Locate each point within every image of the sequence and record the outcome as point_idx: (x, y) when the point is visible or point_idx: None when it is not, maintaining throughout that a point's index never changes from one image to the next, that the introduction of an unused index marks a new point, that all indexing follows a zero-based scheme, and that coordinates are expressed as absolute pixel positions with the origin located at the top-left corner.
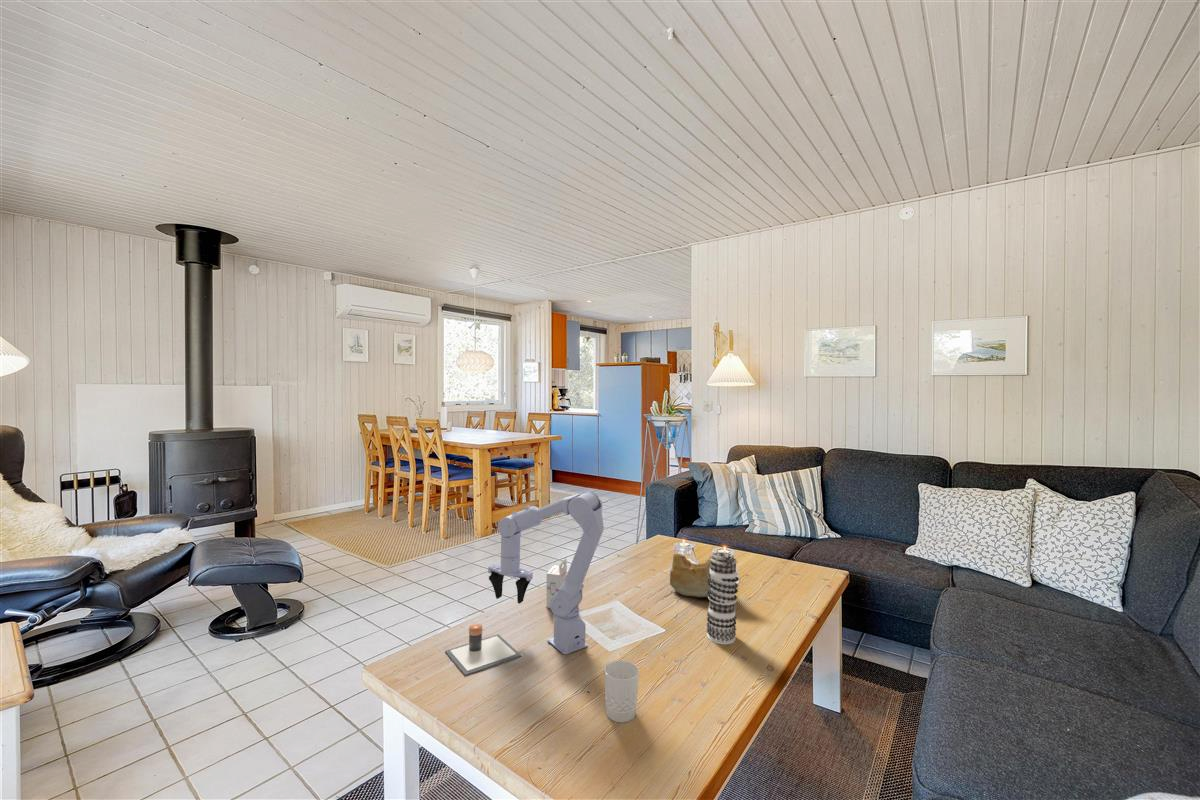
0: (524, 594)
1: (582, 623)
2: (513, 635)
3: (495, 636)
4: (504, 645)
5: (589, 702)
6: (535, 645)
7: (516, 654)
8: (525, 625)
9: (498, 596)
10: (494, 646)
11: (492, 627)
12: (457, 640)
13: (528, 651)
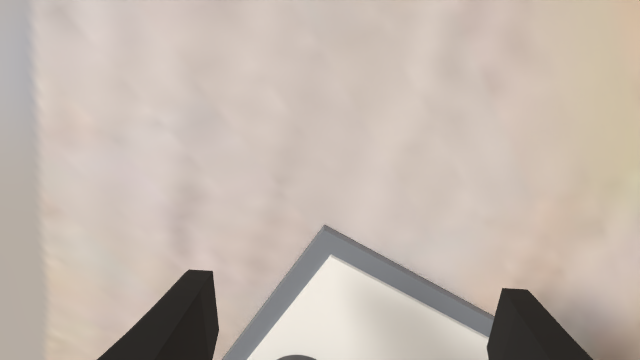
0: (576, 349)
1: None
2: (416, 190)
3: (326, 262)
4: (430, 321)
5: None
6: (605, 243)
7: None
8: (438, 29)
9: (211, 339)
10: (381, 340)
11: (221, 150)
12: None
13: (579, 303)
